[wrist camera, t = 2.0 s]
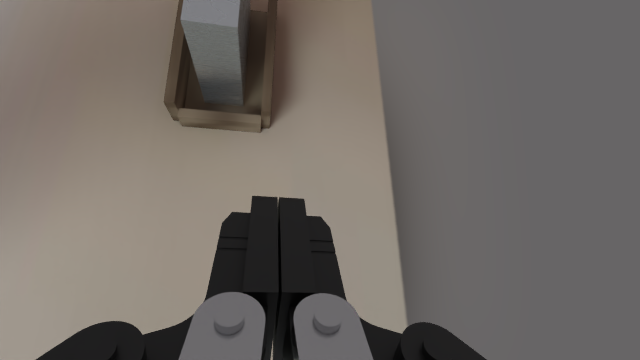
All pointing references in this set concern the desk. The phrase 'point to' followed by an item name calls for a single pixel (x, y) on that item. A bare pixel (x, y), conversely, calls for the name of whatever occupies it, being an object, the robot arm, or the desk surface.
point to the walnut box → (256, 111)
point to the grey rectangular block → (218, 47)
